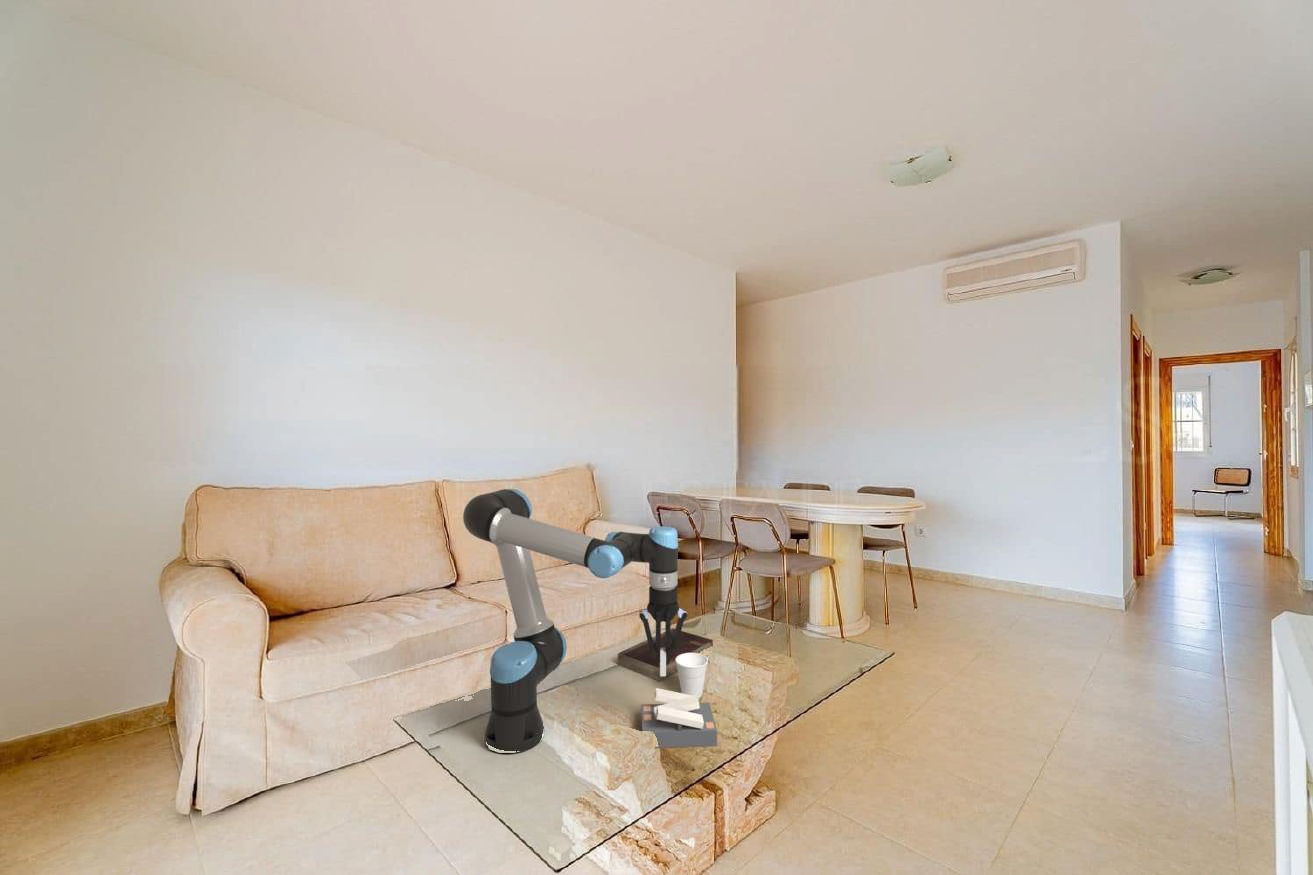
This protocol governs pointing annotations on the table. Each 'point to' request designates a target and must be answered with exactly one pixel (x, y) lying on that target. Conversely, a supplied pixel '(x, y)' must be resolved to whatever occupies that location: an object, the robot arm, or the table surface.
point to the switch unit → (680, 728)
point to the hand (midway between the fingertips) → (662, 673)
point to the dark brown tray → (645, 658)
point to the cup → (692, 673)
